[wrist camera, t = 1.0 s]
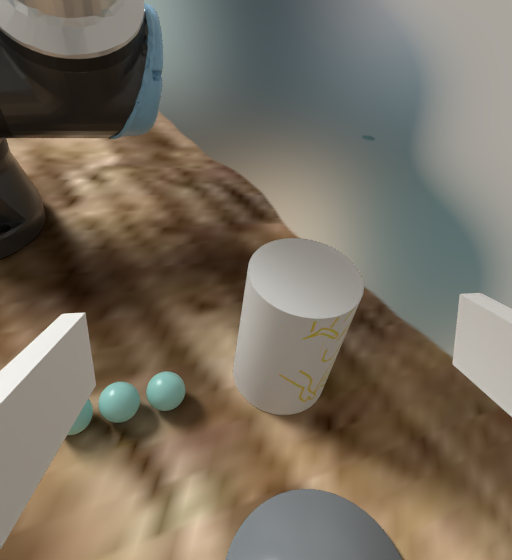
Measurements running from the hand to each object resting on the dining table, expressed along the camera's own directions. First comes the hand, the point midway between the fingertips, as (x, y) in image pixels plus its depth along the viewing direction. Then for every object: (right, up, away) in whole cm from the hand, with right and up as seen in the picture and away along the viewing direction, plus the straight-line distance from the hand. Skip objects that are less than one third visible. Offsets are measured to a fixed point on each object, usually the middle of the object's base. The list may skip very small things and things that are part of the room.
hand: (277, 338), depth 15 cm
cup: (+1, -6, +23) cm, 24 cm away
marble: (-8, -8, +19) cm, 22 cm away
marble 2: (-11, -8, +18) cm, 23 cm away
